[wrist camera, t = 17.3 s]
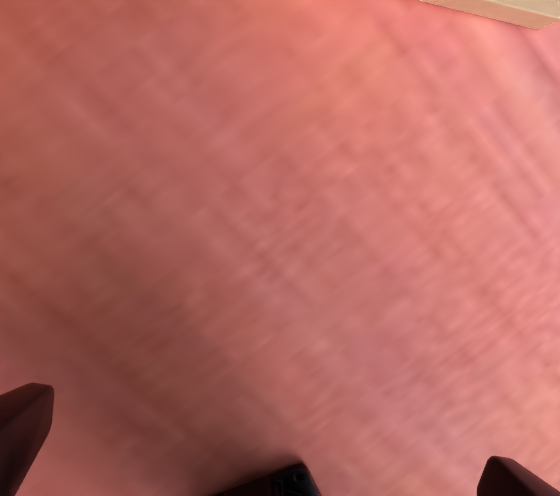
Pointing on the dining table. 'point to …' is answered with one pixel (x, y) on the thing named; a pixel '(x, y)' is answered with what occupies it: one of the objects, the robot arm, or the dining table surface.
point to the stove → (509, 10)
